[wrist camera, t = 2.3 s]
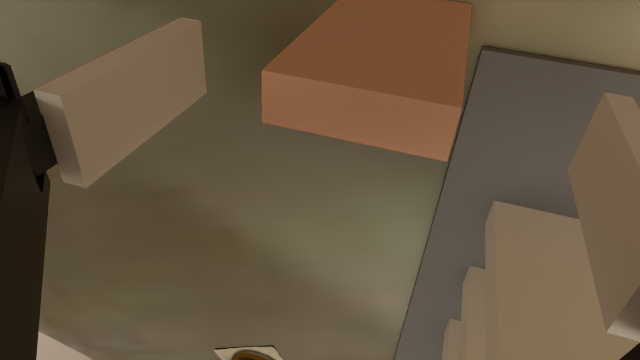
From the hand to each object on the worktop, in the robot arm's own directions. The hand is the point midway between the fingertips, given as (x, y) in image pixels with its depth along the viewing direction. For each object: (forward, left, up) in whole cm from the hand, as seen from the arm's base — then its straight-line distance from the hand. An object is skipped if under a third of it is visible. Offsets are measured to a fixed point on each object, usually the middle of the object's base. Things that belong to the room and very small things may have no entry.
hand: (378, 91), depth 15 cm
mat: (+9, -16, -10) cm, 21 cm away
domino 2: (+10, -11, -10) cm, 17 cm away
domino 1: (0, 0, -10) cm, 10 cm away
